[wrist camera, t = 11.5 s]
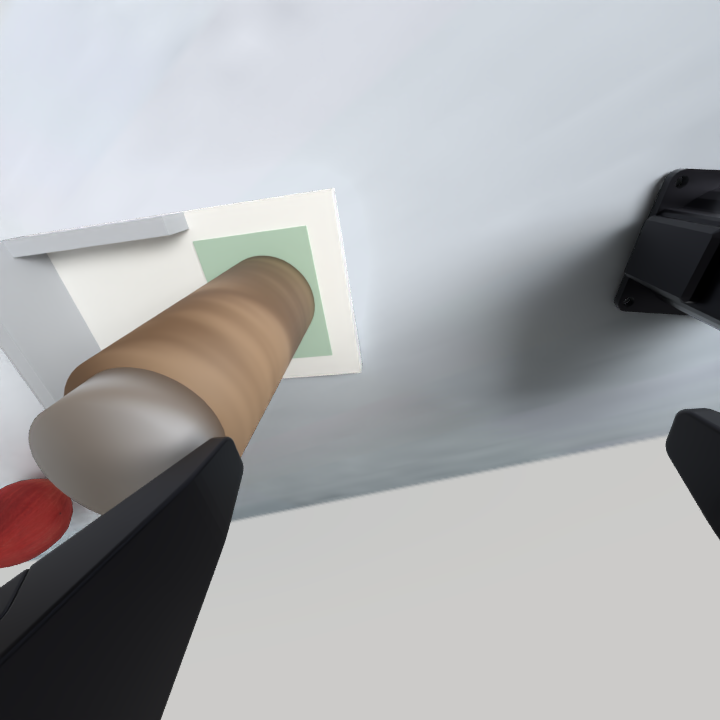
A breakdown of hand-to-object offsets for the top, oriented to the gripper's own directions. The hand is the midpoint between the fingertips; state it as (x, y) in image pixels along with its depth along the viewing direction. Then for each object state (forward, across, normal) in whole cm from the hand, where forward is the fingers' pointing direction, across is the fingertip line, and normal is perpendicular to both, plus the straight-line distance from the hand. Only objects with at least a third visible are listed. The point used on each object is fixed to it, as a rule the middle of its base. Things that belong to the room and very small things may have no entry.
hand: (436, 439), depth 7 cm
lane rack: (+13, +12, 0) cm, 18 cm away
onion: (+14, +31, +15) cm, 37 cm away
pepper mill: (+12, +8, 0) cm, 14 cm away
